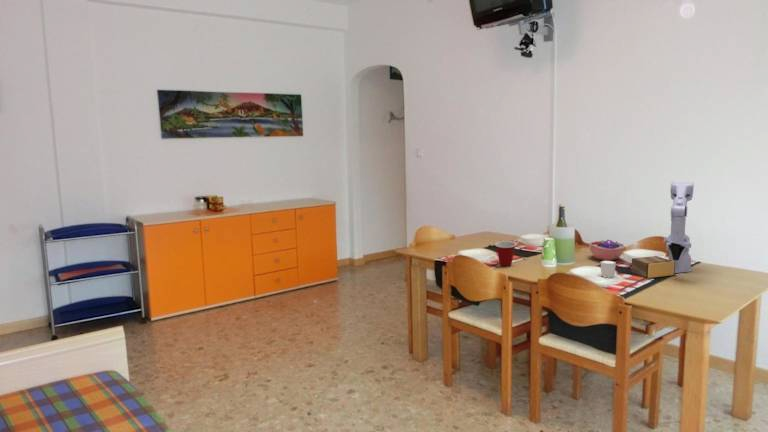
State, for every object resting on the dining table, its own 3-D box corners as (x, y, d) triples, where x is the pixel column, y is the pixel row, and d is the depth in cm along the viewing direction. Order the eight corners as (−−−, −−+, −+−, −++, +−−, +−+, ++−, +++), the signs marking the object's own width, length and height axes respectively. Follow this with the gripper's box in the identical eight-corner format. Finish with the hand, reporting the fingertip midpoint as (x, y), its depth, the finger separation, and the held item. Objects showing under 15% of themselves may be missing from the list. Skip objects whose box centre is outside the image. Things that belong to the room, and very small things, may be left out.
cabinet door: (673, 274, 258) (674, 261, 257) (675, 274, 257) (676, 261, 256) (647, 277, 254) (648, 263, 253) (649, 277, 253) (649, 264, 252)
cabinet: (655, 269, 268) (656, 255, 267) (670, 274, 258) (671, 260, 257) (631, 272, 264) (632, 258, 263) (645, 277, 255) (646, 263, 254)
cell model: (616, 255, 300) (616, 235, 298) (628, 264, 280) (629, 242, 278) (584, 255, 301) (585, 235, 299) (595, 264, 282) (595, 243, 280)
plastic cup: (492, 267, 281) (492, 244, 279) (498, 262, 291) (498, 240, 289) (513, 269, 276) (513, 246, 274) (518, 264, 286) (518, 242, 284)
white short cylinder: (606, 278, 255) (606, 264, 254) (596, 275, 261) (597, 261, 260) (618, 277, 257) (619, 263, 255) (608, 273, 263) (609, 259, 262)
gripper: (658, 229, 253) (657, 257, 255) (682, 234, 239) (680, 264, 241) (671, 227, 255) (669, 255, 257) (695, 233, 241) (693, 263, 243)
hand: (675, 259), depth 249 cm, fingers closed
